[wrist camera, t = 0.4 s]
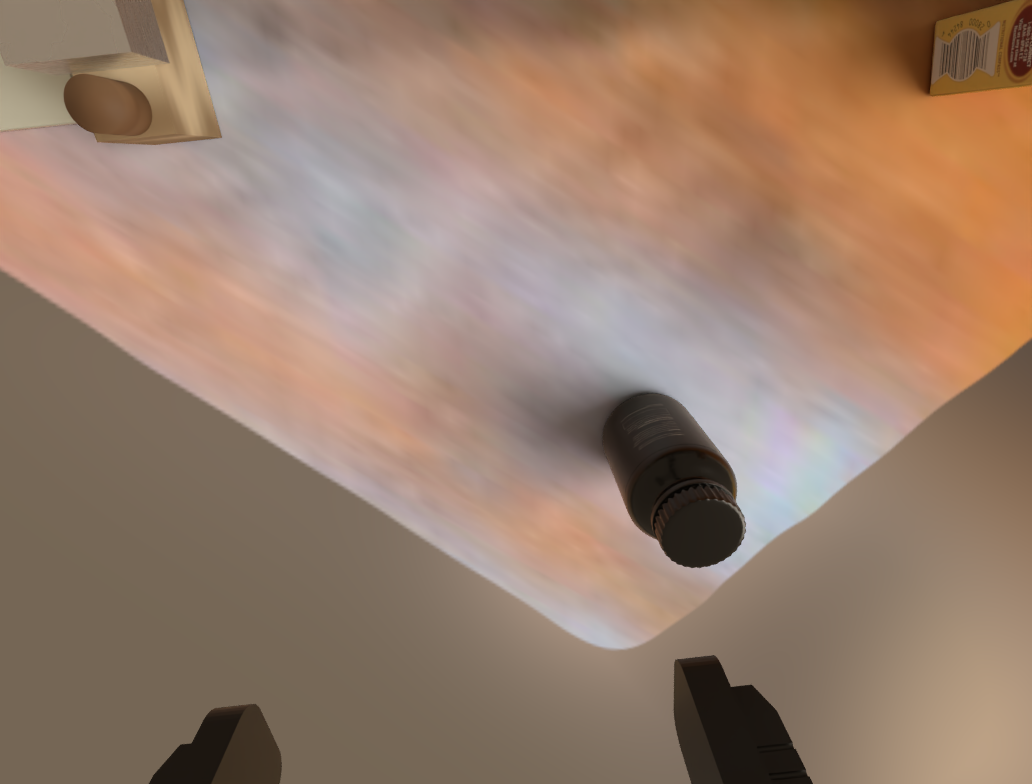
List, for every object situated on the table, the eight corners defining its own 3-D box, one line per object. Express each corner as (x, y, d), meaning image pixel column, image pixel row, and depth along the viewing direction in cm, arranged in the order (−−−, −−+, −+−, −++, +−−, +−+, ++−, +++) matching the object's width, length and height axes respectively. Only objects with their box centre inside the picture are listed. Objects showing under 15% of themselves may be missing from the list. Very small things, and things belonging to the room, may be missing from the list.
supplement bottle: (590, 465, 42) (625, 575, 31) (613, 383, 39) (660, 471, 28) (676, 477, 42) (740, 589, 31) (704, 398, 40) (784, 490, 29)
